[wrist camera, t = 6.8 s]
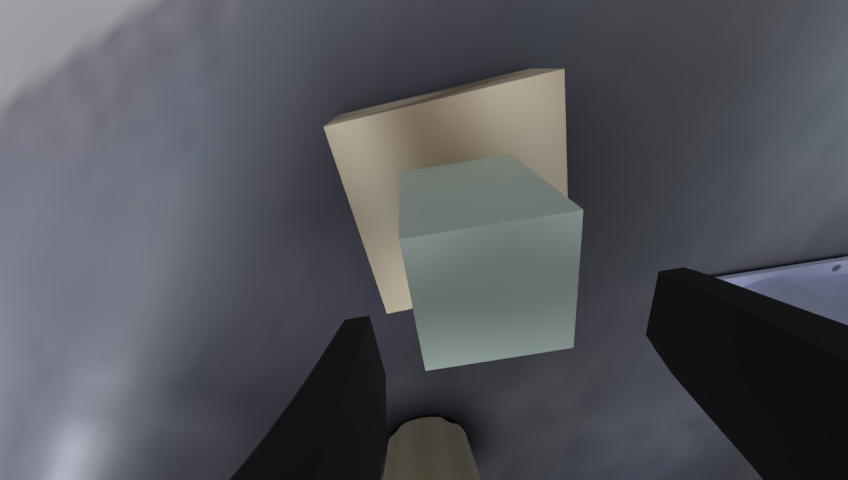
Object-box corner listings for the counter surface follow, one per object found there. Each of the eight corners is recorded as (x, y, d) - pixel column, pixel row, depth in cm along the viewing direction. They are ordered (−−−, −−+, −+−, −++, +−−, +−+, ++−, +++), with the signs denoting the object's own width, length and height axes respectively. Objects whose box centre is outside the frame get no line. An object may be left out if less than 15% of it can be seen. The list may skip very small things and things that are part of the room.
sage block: (510, 153, 14) (583, 210, 8) (513, 251, 16) (573, 347, 10) (399, 172, 14) (398, 239, 8) (416, 267, 16) (425, 370, 10)
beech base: (527, 68, 16) (564, 68, 12) (539, 237, 20) (569, 274, 16) (340, 113, 16) (323, 126, 13) (389, 270, 20) (387, 313, 17)
